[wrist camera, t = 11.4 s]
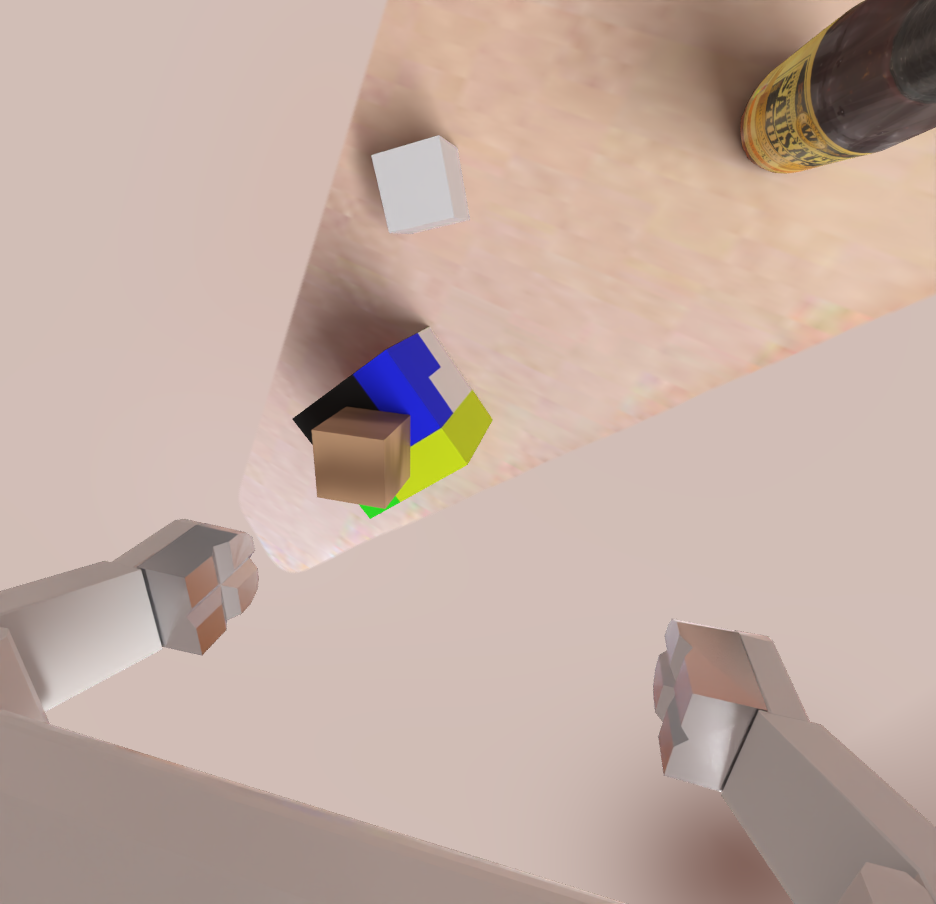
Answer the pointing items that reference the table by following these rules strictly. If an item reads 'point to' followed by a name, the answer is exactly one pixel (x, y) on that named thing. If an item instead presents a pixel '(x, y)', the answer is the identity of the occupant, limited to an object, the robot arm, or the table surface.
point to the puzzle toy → (413, 408)
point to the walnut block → (362, 456)
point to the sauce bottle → (847, 89)
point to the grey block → (421, 186)
